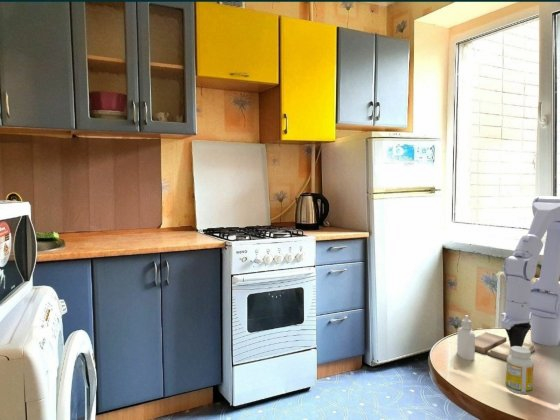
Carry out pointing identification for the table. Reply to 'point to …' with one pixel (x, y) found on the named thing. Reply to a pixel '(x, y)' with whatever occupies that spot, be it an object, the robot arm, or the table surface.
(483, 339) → the floor section
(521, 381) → the supplement bottle
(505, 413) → the table surface
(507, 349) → the board
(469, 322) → the eye dropper bottle
